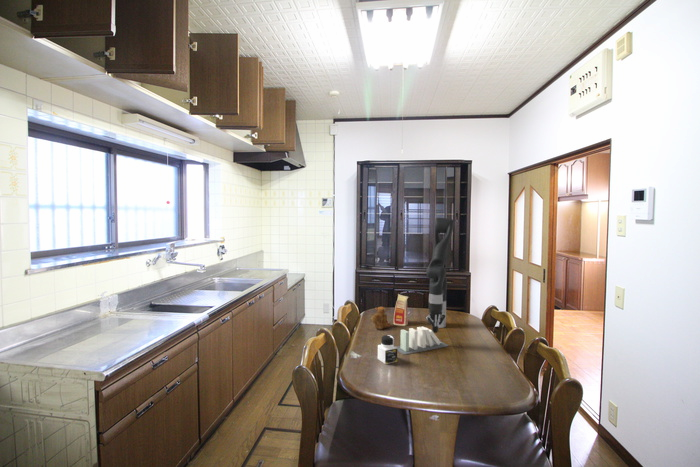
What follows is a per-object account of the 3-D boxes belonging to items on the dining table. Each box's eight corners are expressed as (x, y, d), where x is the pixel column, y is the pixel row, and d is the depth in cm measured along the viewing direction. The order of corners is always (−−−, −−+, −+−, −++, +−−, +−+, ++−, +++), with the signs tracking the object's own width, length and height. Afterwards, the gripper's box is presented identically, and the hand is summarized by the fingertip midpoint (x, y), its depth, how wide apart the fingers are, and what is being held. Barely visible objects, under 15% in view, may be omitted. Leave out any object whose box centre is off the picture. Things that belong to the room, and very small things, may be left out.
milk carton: (393, 324, 210) (393, 295, 209) (396, 320, 218) (396, 292, 218) (406, 326, 206) (407, 296, 206) (409, 322, 215) (409, 293, 214)
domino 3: (422, 348, 169) (422, 330, 168) (417, 344, 173) (416, 327, 173) (425, 347, 170) (425, 329, 169) (420, 344, 174) (419, 326, 174)
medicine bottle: (385, 364, 150) (385, 340, 149) (377, 358, 156) (377, 335, 156) (397, 361, 153) (397, 337, 152) (389, 356, 159) (389, 333, 159)
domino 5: (438, 345, 173) (429, 333, 170) (432, 342, 178) (423, 330, 175) (440, 342, 174) (431, 330, 171) (435, 339, 178) (426, 327, 176)
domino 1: (403, 347, 170) (403, 329, 169) (408, 350, 165) (409, 332, 165) (400, 348, 169) (400, 329, 168) (405, 351, 164) (405, 332, 164)
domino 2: (414, 349, 166) (414, 331, 166) (408, 346, 171) (409, 328, 171) (417, 349, 167) (417, 330, 167) (411, 345, 172) (412, 328, 172)
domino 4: (430, 346, 171) (425, 330, 169) (425, 343, 176) (419, 328, 174) (433, 344, 172) (428, 329, 170) (427, 341, 176) (422, 326, 174)
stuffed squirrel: (391, 325, 207) (391, 306, 207) (383, 332, 195) (383, 311, 194) (377, 323, 212) (377, 304, 211) (369, 329, 199) (369, 309, 199)
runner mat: (393, 347, 170) (393, 347, 170) (436, 339, 182) (437, 339, 182) (403, 355, 161) (403, 354, 161) (448, 346, 173) (448, 345, 173)
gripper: (440, 299, 180) (439, 328, 181) (421, 301, 175) (421, 331, 175) (449, 302, 174) (448, 332, 174) (430, 304, 168) (430, 336, 169)
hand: (435, 332), depth 175 cm, fingers closed
